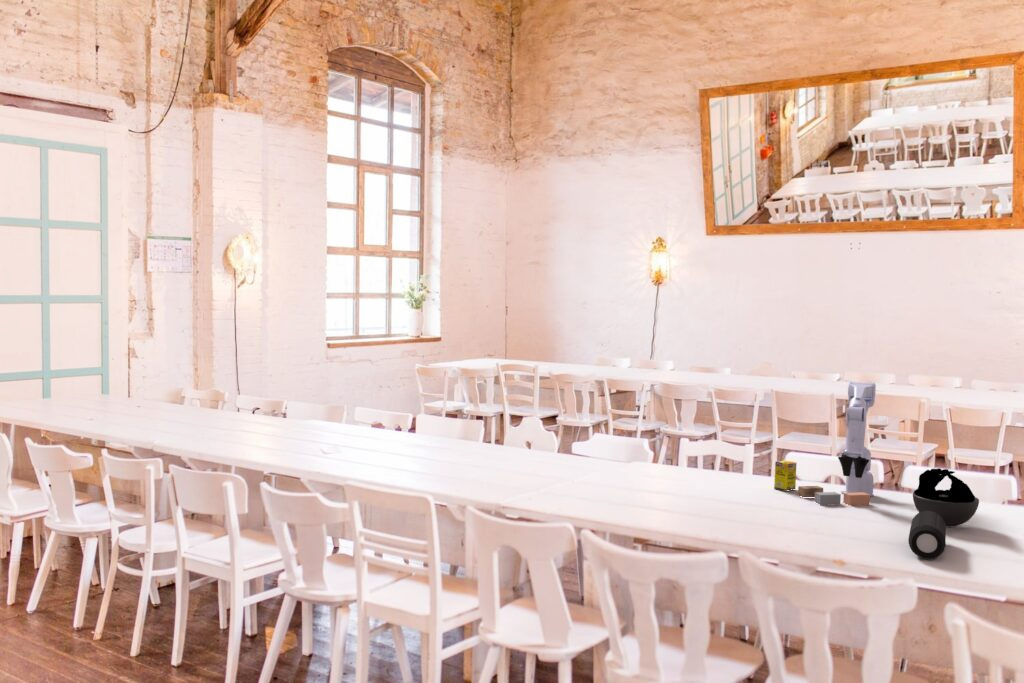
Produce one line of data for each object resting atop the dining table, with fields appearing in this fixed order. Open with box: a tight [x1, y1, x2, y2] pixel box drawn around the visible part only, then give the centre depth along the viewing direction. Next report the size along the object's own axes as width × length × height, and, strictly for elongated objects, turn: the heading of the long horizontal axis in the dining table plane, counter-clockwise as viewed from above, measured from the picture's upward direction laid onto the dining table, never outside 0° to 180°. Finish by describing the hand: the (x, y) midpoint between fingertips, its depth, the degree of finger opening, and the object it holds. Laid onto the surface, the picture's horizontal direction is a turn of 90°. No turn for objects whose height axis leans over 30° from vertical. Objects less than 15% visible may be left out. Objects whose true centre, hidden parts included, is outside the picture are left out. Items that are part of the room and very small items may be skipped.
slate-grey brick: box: [814, 491, 842, 506], centre depth 339 cm, size 8×4×4 cm, turn 101°
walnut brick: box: [797, 485, 824, 497], centre depth 350 cm, size 8×4×4 cm, turn 102°
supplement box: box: [773, 459, 797, 491], centre depth 362 cm, size 6×6×11 cm
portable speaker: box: [908, 511, 947, 560], centre depth 280 cm, size 26×10×10 cm, turn 155°
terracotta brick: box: [842, 492, 871, 506], centre depth 340 cm, size 8×4×4 cm, turn 103°
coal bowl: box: [912, 468, 980, 528], centre depth 309 cm, size 20×20×19 cm
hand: (852, 476), depth 339 cm, fingers open, 7 cm apart
